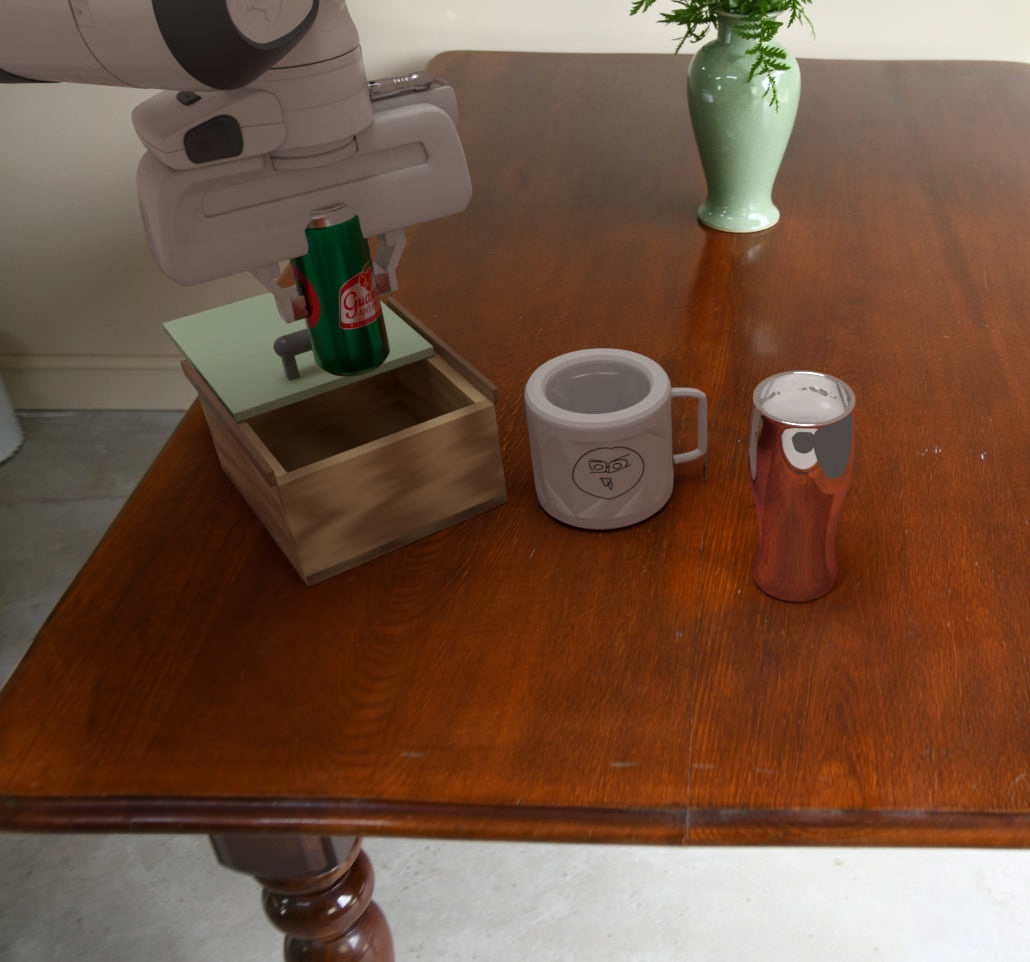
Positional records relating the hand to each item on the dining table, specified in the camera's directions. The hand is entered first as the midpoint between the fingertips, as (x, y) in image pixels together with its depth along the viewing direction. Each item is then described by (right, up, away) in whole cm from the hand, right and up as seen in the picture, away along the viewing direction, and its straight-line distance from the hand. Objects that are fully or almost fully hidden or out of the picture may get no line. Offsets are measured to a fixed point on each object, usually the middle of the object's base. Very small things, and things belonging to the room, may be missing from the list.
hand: (339, 304), depth 76 cm
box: (-3, -12, +13) cm, 18 cm away
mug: (+18, -13, +13) cm, 26 cm away
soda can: (0, -4, +3) cm, 5 cm away
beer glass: (+31, -19, +5) cm, 36 cm away
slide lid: (-8, -1, +13) cm, 15 cm away
